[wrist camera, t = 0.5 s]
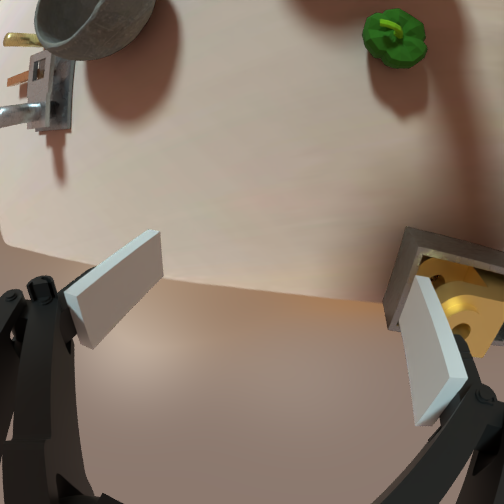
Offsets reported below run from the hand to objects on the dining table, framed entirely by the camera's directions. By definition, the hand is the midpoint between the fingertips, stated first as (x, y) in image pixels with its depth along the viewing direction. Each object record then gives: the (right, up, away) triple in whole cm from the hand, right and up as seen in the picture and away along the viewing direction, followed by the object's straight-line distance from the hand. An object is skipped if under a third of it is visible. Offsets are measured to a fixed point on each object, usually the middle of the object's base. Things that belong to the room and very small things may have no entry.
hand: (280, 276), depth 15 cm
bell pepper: (+18, +30, +18) cm, 39 cm away
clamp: (+33, -3, +28) cm, 44 cm away
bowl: (-24, +44, +23) cm, 55 cm away
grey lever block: (-48, +36, +33) cm, 68 cm away
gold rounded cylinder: (-46, +47, +28) cm, 72 cm away
